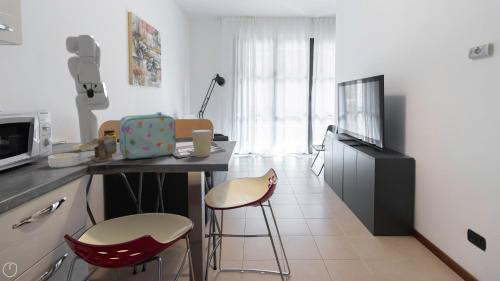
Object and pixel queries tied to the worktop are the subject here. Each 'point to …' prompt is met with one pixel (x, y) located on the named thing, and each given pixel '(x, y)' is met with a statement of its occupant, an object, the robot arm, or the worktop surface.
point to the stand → (101, 153)
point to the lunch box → (147, 136)
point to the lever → (107, 141)
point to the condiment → (112, 133)
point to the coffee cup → (202, 142)
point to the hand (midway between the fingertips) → (90, 97)
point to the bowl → (64, 160)
